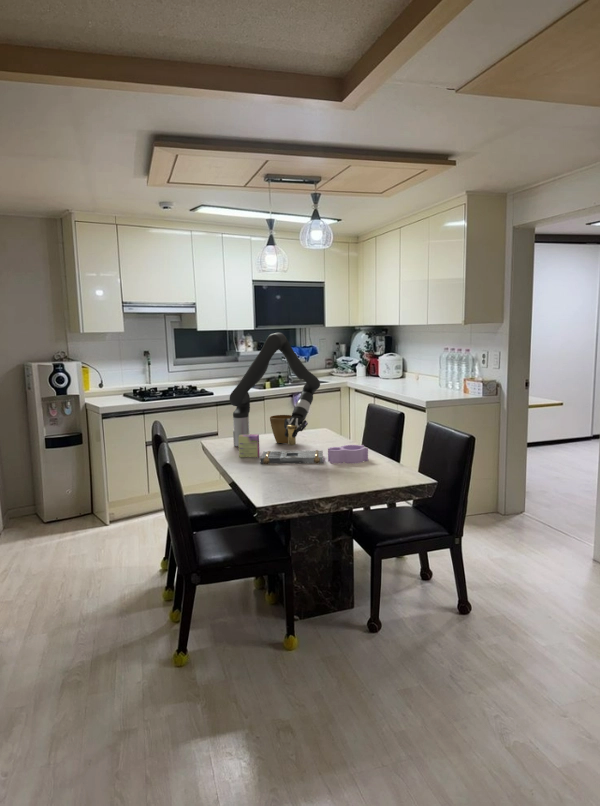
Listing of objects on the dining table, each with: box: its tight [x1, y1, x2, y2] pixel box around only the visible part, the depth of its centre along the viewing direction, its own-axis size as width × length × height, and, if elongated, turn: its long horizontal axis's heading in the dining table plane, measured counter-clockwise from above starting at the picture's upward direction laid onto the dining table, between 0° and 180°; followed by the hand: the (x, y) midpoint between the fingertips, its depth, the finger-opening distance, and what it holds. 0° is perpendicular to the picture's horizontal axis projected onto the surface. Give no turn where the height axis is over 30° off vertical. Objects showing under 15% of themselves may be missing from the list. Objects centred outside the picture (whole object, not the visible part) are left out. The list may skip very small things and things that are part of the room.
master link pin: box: [287, 425, 297, 446], centre depth 270 cm, size 5×5×10 cm
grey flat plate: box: [260, 449, 324, 465], centre depth 272 cm, size 32×15×3 cm, turn 88°
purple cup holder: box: [327, 444, 369, 464], centre depth 268 cm, size 20×12×7 cm, turn 102°
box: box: [238, 433, 261, 458], centre depth 282 cm, size 10×6×12 cm, turn 84°
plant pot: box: [269, 414, 292, 444], centre depth 311 cm, size 15×15×16 cm
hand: (289, 436), depth 269 cm, fingers closed on master link pin, 4 cm apart
